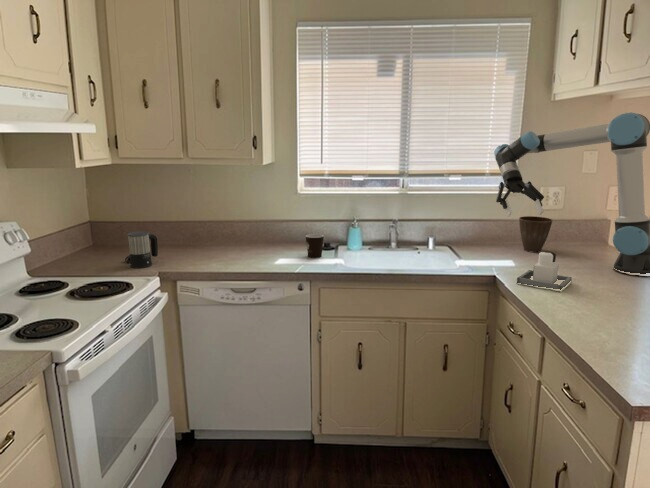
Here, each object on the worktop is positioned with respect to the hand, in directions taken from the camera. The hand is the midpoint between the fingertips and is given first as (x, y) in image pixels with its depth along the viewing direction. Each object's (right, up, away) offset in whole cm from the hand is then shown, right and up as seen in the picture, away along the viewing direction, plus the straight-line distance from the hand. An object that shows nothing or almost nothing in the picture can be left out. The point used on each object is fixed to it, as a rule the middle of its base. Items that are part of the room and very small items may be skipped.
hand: (525, 214), depth 202 cm
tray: (+2, -28, -13) cm, 31 cm away
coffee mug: (-88, -18, +31) cm, 95 cm away
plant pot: (+20, -16, +39) cm, 47 cm away
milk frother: (-168, -22, +17) cm, 170 cm away
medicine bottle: (+2, -27, -13) cm, 31 cm away
